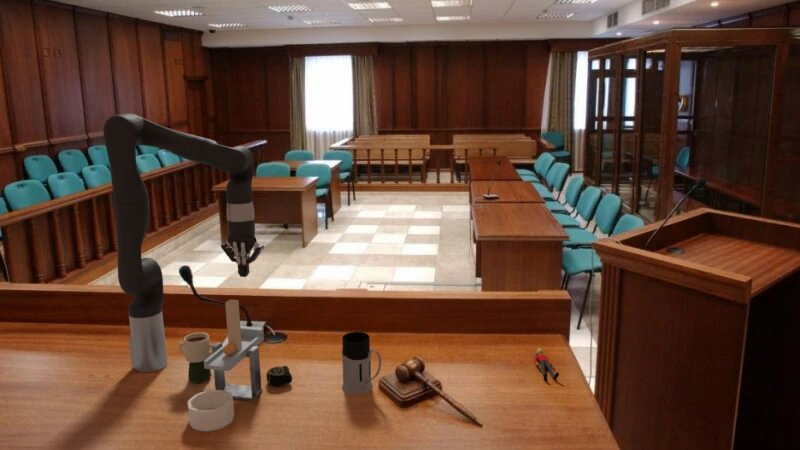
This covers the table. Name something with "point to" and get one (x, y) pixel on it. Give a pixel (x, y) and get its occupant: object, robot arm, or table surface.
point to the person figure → (544, 364)
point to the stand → (240, 390)
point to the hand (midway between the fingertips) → (244, 276)
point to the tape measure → (279, 376)
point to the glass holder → (357, 363)
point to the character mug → (197, 355)
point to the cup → (211, 410)
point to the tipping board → (235, 357)
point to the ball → (229, 349)
